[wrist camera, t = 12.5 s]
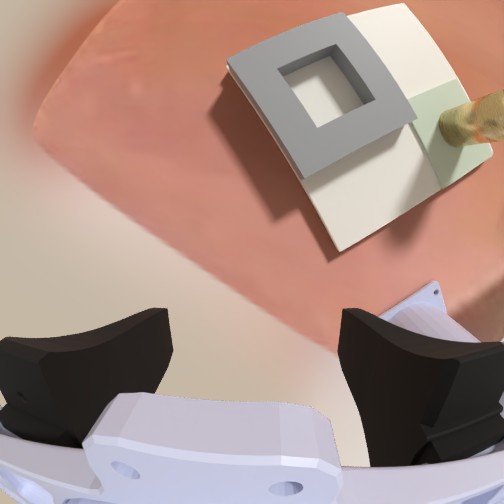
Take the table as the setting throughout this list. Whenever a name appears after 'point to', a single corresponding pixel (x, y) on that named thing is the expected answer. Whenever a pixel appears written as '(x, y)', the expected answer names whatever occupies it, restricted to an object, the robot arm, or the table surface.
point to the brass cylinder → (474, 121)
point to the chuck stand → (359, 115)
